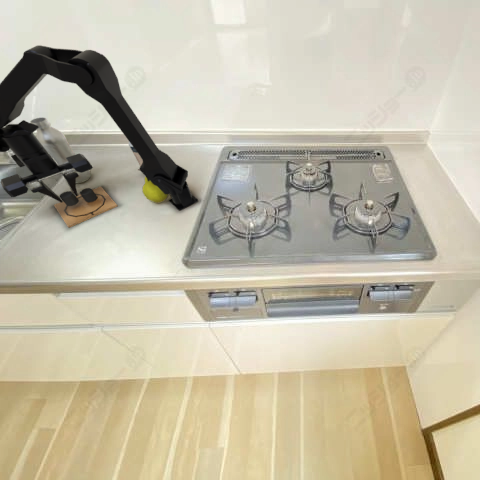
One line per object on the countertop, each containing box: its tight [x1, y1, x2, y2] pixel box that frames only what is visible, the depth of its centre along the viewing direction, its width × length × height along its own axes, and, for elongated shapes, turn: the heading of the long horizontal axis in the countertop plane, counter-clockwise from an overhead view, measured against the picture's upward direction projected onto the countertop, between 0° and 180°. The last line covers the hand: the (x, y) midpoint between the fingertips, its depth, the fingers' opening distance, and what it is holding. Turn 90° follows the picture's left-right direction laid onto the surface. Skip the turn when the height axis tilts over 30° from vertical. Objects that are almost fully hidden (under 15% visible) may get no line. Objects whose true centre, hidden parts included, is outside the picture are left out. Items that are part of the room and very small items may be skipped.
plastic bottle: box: [29, 117, 92, 184], centre depth 85 cm, size 6×7×20 cm
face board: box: [53, 185, 118, 229], centre depth 83 cm, size 13×13×1 cm
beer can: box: [128, 141, 143, 167], centre depth 92 cm, size 5×5×12 cm
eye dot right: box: [79, 187, 98, 202], centre depth 84 cm, size 3×3×3 cm
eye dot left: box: [58, 190, 79, 206], centre depth 81 cm, size 3×3×3 cm
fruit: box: [137, 168, 170, 204], centre depth 82 cm, size 7×7×12 cm
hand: (69, 198), depth 81 cm, fingers open, 3 cm apart
